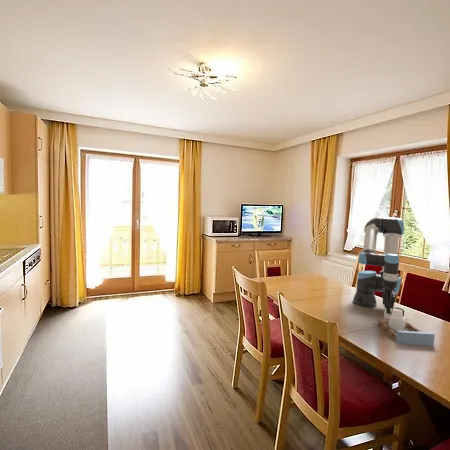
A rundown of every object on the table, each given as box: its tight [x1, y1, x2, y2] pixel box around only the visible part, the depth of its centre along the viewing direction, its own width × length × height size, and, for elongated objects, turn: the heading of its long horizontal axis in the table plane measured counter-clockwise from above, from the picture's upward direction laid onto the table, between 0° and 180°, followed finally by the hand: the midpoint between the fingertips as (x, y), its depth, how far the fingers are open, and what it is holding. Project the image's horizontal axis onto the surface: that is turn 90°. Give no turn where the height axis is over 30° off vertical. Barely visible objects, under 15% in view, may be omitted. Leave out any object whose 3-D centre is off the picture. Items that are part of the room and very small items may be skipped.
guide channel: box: [377, 319, 423, 342], centre depth 154 cm, size 20×17×3 cm
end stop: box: [395, 330, 436, 347], centre depth 143 cm, size 2×17×6 cm, turn 87°
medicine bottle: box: [387, 306, 407, 332], centre depth 160 cm, size 7×7×12 cm
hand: (386, 318), depth 171 cm, fingers closed
